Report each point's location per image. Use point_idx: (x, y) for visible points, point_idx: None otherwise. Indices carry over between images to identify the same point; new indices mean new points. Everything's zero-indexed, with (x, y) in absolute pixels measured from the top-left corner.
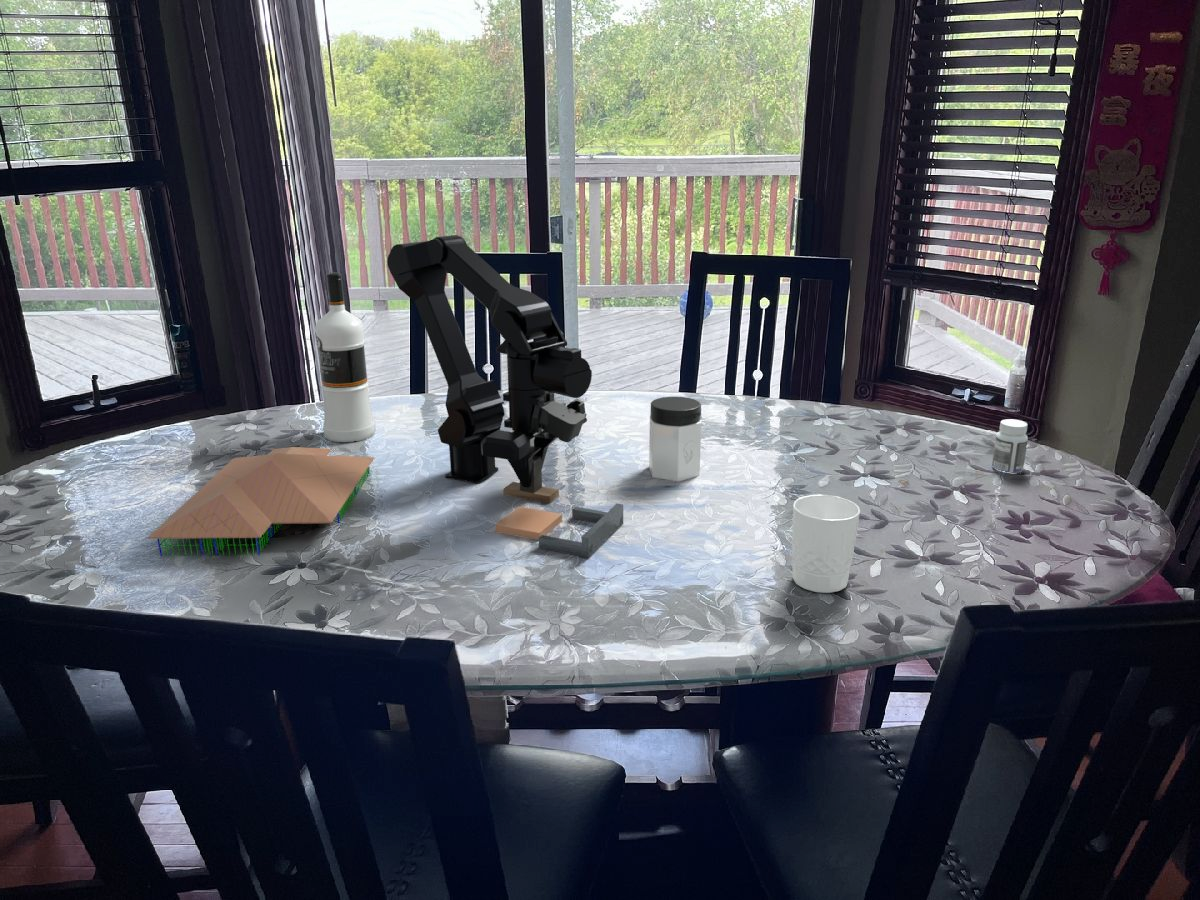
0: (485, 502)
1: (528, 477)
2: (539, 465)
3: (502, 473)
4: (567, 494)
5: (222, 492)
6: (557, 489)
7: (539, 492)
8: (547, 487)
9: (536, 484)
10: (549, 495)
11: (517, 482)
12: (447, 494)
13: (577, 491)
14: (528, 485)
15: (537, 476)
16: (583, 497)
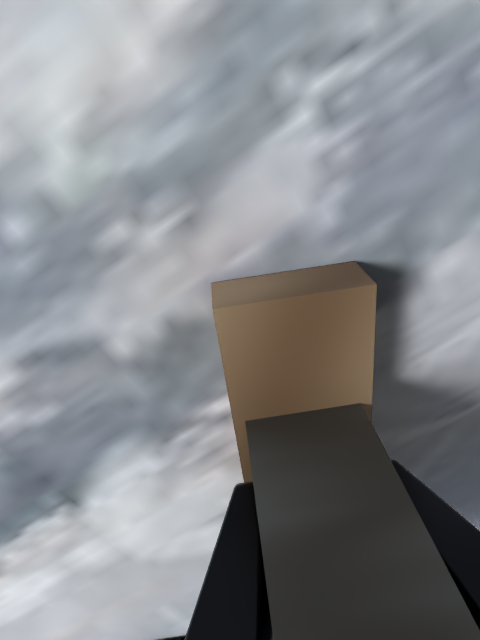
0: None
1: (477, 530)
2: (318, 616)
3: (127, 629)
4: (139, 253)
5: None
6: (222, 314)
7: (340, 383)
8: (229, 392)
9: (343, 447)
10: (362, 296)
11: None
12: None
13: (36, 220)
14: (406, 471)
15: (344, 504)
16: (104, 90)
